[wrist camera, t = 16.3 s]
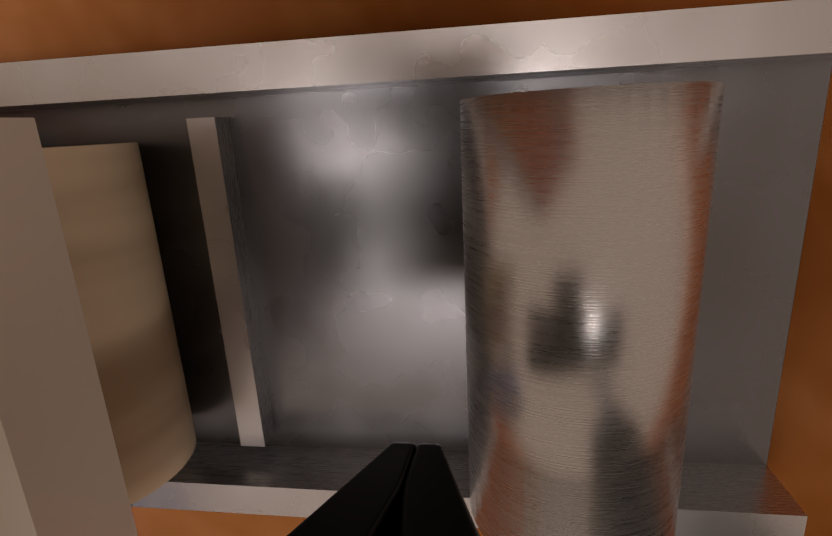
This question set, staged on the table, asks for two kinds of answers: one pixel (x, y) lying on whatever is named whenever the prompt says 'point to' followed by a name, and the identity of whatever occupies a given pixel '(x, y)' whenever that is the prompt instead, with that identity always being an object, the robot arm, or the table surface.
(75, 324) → the slab
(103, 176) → the roller
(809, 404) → the table surface
